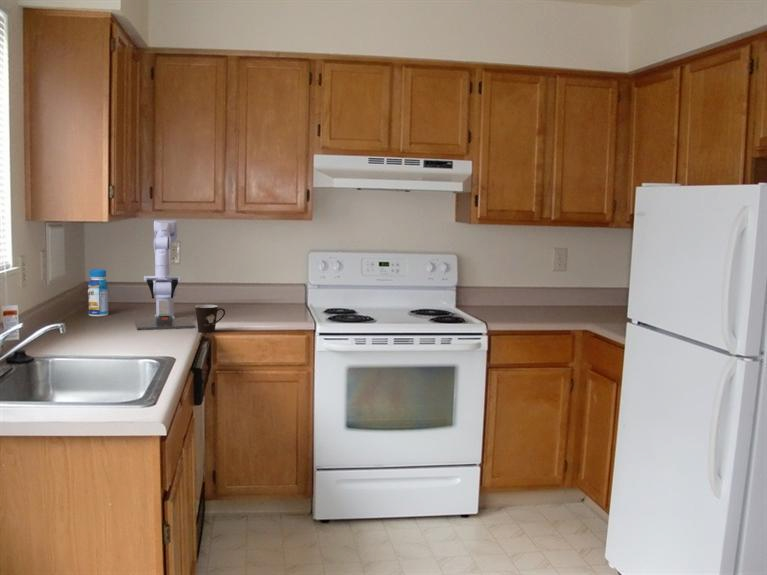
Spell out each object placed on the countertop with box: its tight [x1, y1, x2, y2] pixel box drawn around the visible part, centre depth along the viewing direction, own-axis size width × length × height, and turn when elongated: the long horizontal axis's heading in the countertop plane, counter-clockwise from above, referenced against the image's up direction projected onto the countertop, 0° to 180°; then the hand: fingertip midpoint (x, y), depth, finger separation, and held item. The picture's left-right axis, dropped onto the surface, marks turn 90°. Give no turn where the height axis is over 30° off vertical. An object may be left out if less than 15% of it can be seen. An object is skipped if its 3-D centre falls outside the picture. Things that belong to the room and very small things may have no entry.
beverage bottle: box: [87, 268, 109, 317], centre depth 327 cm, size 8×8×20 cm
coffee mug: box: [194, 304, 226, 334], centre depth 293 cm, size 12×9×10 cm
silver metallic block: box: [159, 300, 169, 316], centre depth 306 cm, size 4×4×6 cm
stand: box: [133, 315, 196, 331], centre depth 306 cm, size 22×22×4 cm
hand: (162, 298), depth 310 cm, fingers open, 7 cm apart
